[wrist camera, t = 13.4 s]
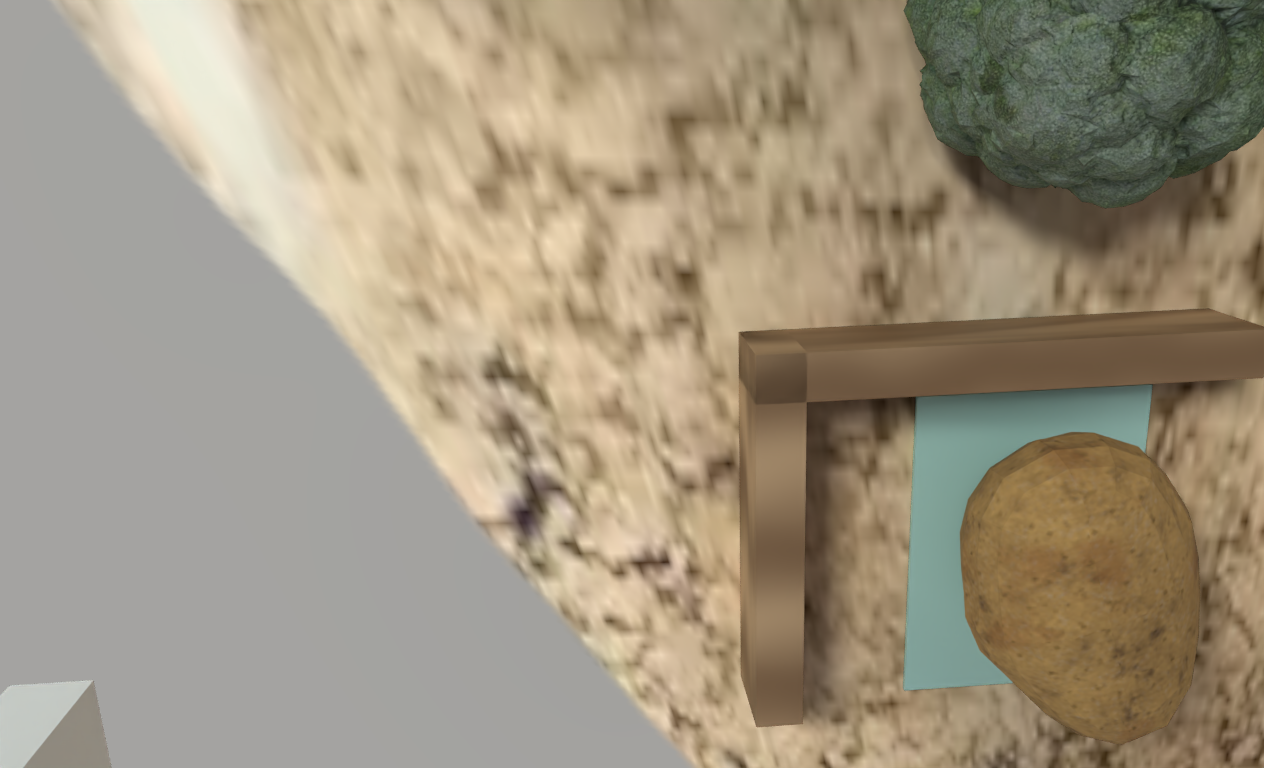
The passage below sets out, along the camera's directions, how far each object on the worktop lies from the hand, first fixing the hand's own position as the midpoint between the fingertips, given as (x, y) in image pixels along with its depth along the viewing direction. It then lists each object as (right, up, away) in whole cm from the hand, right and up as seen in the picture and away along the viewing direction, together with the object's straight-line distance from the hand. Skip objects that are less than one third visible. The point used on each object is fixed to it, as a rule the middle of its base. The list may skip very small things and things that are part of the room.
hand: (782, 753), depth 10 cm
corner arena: (+13, -2, +35) cm, 38 cm away
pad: (+16, -4, +36) cm, 40 cm away
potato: (+17, -4, +36) cm, 40 cm away
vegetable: (+15, +18, +30) cm, 38 cm away
